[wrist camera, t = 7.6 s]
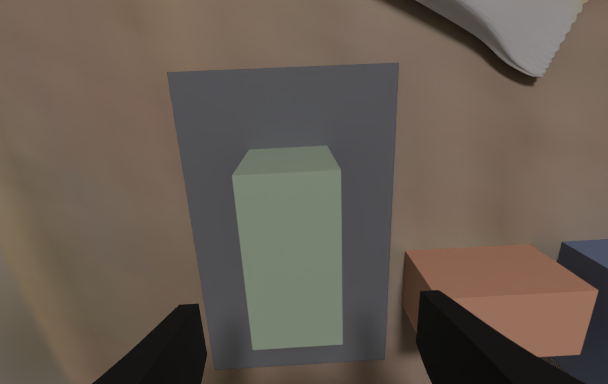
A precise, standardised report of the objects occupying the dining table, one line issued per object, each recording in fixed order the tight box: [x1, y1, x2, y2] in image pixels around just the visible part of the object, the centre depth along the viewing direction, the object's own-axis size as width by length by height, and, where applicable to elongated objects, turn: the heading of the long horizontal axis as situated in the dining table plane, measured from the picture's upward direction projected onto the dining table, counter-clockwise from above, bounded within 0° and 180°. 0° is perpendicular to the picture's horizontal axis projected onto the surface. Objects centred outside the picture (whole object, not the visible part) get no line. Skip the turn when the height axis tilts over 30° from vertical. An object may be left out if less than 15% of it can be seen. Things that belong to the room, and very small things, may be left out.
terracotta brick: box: [402, 244, 599, 357], centre depth 19 cm, size 8×4×5 cm, turn 92°
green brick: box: [232, 146, 343, 350], centre depth 16 cm, size 8×4×5 cm, turn 3°
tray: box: [167, 63, 399, 370], centre depth 19 cm, size 18×11×2 cm, turn 2°
